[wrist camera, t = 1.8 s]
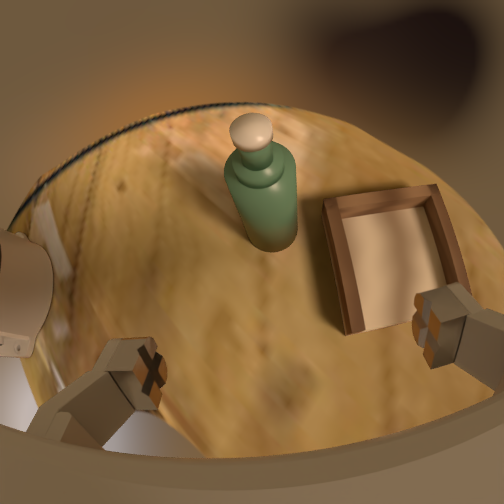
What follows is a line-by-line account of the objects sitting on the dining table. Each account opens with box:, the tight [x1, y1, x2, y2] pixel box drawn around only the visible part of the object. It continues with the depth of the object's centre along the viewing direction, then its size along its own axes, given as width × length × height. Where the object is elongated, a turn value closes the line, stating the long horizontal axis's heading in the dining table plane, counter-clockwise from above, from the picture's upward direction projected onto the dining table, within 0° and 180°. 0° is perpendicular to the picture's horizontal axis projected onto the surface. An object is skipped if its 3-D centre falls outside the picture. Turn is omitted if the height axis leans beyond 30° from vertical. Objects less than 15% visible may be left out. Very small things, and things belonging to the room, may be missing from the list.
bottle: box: [224, 113, 298, 252], centre depth 25 cm, size 5×5×15 cm
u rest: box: [321, 184, 472, 336], centre depth 27 cm, size 12×12×4 cm
